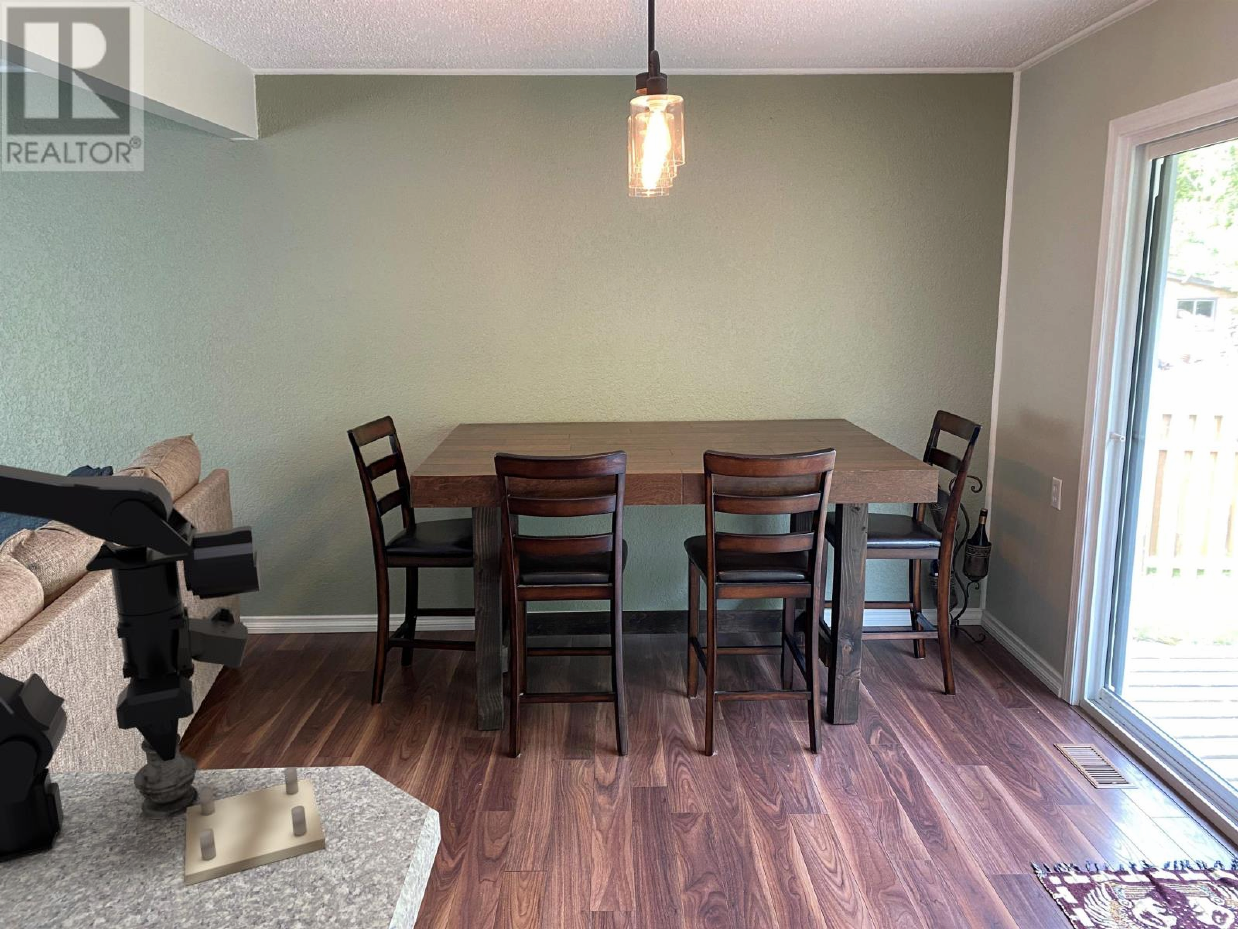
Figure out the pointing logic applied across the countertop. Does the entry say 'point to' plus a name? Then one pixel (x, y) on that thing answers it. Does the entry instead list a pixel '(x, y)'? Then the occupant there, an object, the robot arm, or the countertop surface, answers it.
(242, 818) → the pin board
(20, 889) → the countertop surface
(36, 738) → the robot arm
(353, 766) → the countertop surface
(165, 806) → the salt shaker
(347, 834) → the countertop surface
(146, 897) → the countertop surface
